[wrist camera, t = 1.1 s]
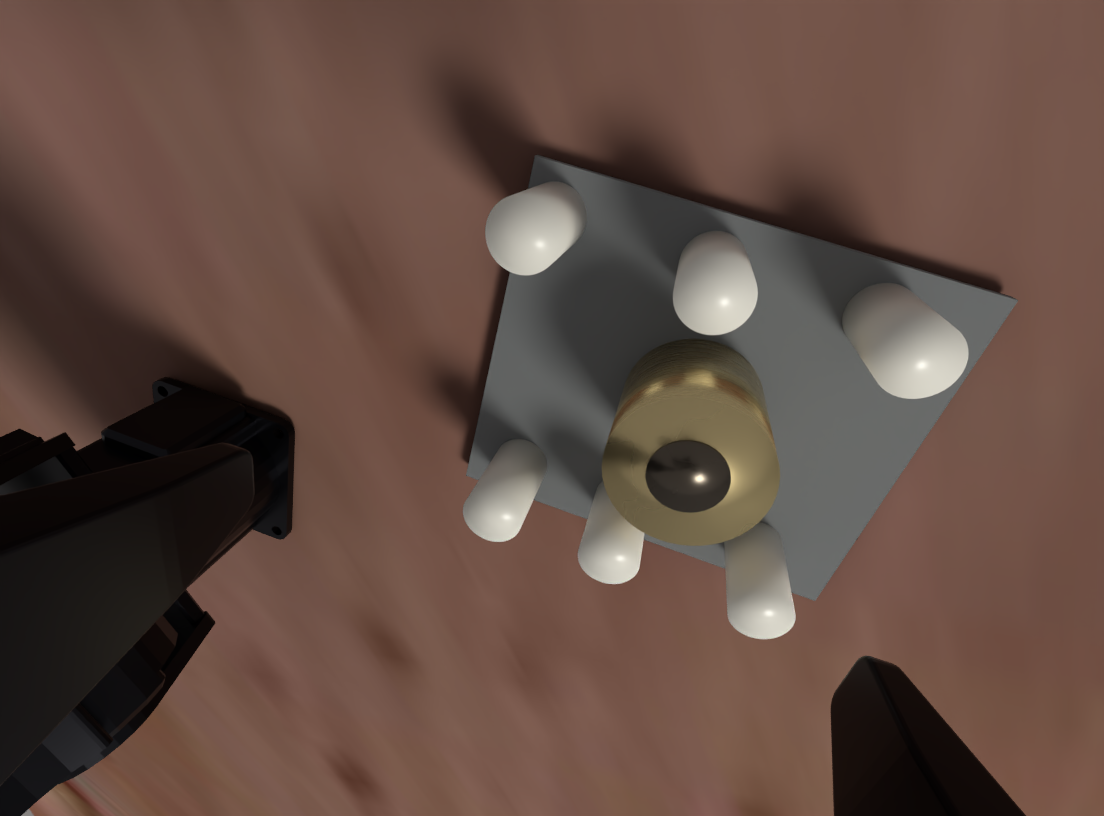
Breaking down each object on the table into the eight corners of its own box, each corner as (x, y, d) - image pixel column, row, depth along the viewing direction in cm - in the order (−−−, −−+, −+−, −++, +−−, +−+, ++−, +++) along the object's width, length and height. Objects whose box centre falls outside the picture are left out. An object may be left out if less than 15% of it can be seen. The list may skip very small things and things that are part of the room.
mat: (813, 593, 22) (815, 600, 21) (469, 470, 23) (466, 475, 23) (1011, 296, 16) (1017, 300, 16) (538, 155, 17) (535, 155, 17)
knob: (731, 481, 20) (737, 570, 16) (606, 438, 21) (581, 514, 17) (789, 365, 18) (813, 434, 14) (647, 319, 18) (631, 375, 14)
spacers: (768, 572, 21) (778, 647, 18) (468, 465, 22) (430, 519, 19) (933, 295, 16) (987, 335, 13) (531, 173, 17) (493, 183, 14)
